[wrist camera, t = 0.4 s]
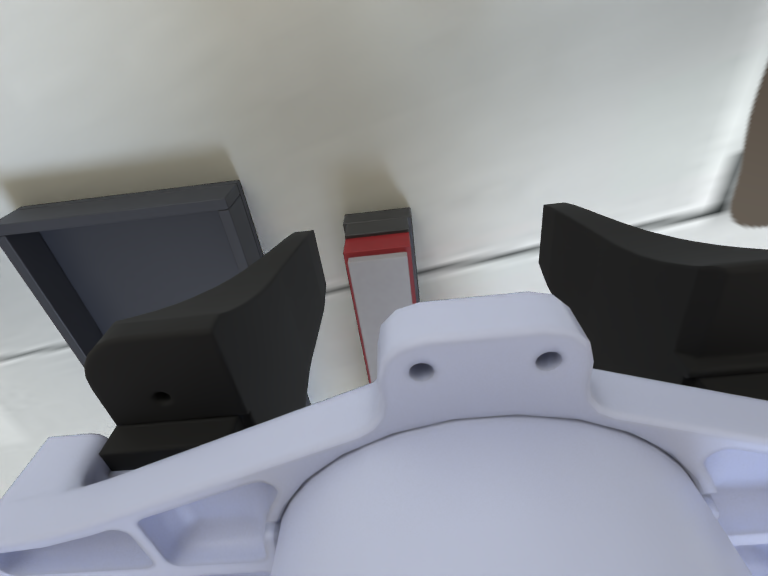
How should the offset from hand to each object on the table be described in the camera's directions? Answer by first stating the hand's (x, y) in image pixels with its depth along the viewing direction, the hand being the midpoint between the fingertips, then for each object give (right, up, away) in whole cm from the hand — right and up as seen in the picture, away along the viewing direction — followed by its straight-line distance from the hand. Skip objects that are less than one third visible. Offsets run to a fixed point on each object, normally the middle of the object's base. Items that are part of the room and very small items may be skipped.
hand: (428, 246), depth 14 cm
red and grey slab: (-1, -2, +13) cm, 14 cm away
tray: (-14, -4, +14) cm, 20 cm away
